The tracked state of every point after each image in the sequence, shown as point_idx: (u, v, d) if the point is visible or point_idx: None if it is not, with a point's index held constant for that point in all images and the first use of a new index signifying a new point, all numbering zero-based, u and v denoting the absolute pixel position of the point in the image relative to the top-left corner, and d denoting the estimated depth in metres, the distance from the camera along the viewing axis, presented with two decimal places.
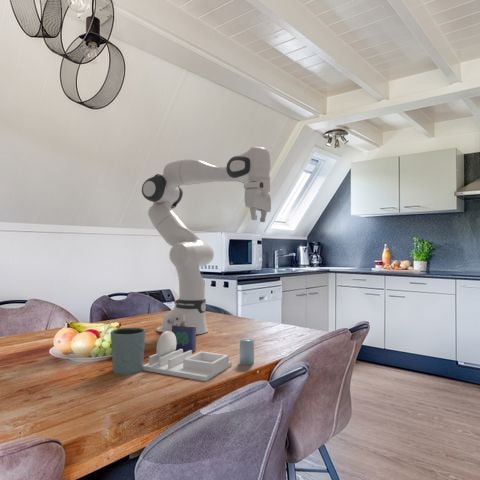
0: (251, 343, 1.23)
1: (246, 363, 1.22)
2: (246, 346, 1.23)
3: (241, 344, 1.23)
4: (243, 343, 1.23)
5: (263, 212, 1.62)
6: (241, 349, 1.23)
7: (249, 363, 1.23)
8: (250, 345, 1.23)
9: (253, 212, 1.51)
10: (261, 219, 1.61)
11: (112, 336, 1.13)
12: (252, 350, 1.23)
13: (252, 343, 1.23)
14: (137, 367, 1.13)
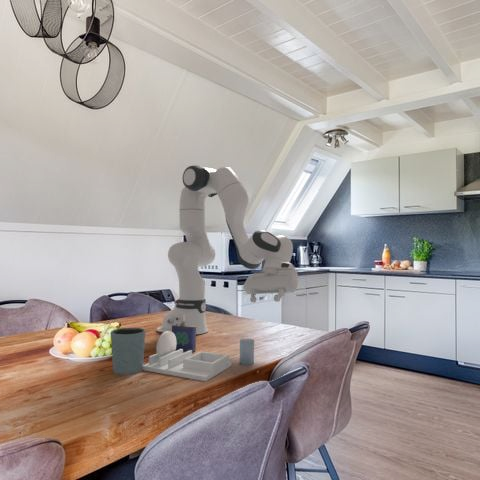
0: (251, 343, 1.23)
1: (246, 363, 1.22)
2: (246, 346, 1.23)
3: (241, 344, 1.23)
4: (243, 343, 1.23)
5: (254, 292, 1.41)
6: (241, 349, 1.23)
7: (249, 363, 1.23)
8: (251, 345, 1.23)
9: (282, 294, 1.35)
10: (254, 298, 1.38)
11: (112, 336, 1.13)
12: (252, 350, 1.23)
13: (252, 343, 1.23)
14: (137, 367, 1.13)
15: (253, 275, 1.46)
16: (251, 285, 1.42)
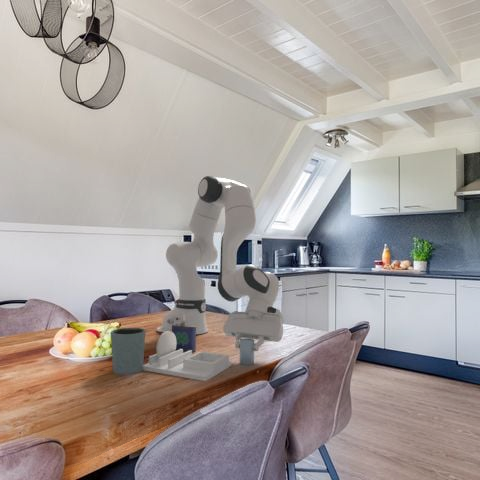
0: (251, 343, 1.23)
1: (246, 363, 1.22)
2: (246, 346, 1.23)
3: (241, 344, 1.23)
4: (243, 343, 1.23)
5: (240, 337, 1.28)
6: (241, 349, 1.23)
7: (249, 363, 1.23)
8: (251, 344, 1.23)
9: (261, 343, 1.24)
10: None
11: (112, 336, 1.13)
12: (252, 350, 1.23)
13: (252, 343, 1.23)
14: (137, 367, 1.13)
15: (234, 315, 1.33)
16: (232, 327, 1.30)
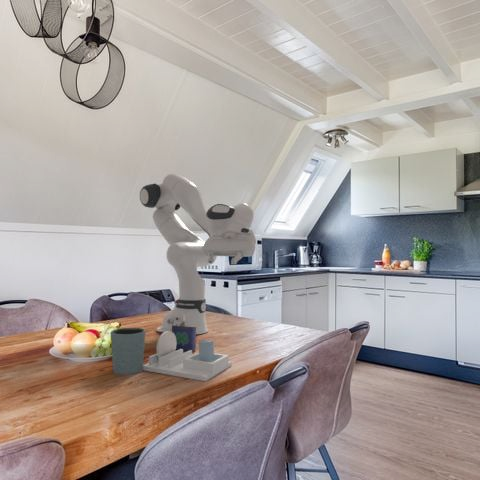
0: (210, 344, 1.16)
1: None
2: (204, 348, 1.15)
3: (199, 345, 1.16)
4: (201, 344, 1.15)
5: (212, 254, 1.44)
6: (200, 351, 1.16)
7: None
8: (209, 346, 1.15)
9: (239, 257, 1.38)
10: (212, 259, 1.41)
11: (112, 336, 1.13)
12: (211, 352, 1.16)
13: (211, 344, 1.16)
14: (137, 367, 1.13)
15: (212, 237, 1.48)
16: (209, 247, 1.44)
